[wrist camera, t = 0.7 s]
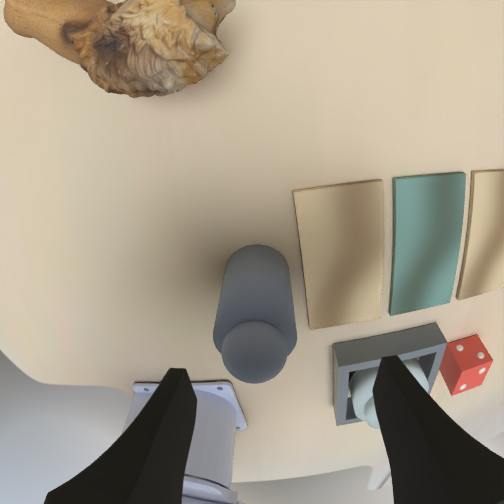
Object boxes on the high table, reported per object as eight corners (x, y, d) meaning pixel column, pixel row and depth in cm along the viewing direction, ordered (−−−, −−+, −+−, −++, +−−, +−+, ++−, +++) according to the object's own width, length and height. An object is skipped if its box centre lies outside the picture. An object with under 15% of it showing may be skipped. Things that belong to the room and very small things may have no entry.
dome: (347, 405, 25) (354, 439, 22) (350, 360, 22) (360, 399, 19) (412, 390, 24) (423, 422, 21) (425, 344, 22) (442, 379, 18)
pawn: (233, 302, 21) (219, 404, 14) (219, 250, 19) (194, 348, 12) (292, 294, 21) (303, 397, 13) (284, 240, 19) (296, 337, 11)
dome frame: (333, 405, 27) (336, 425, 25) (333, 343, 23) (338, 366, 21) (418, 387, 26) (425, 405, 24) (435, 322, 22) (447, 342, 20)
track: (309, 326, 22) (309, 330, 22) (292, 190, 17) (293, 192, 17) (501, 285, 20) (504, 287, 20) (520, 169, 15) (524, 170, 15)
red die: (438, 368, 24) (451, 396, 21) (447, 342, 23) (462, 371, 20) (467, 359, 24) (481, 385, 21) (477, 333, 22) (493, 360, 19)
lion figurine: (261, 29, 13) (259, -37, 5) (218, 115, 16) (172, 136, 8) (50, -15, 11) (-46, -38, 3) (21, 56, 13) (-82, 65, 5)
